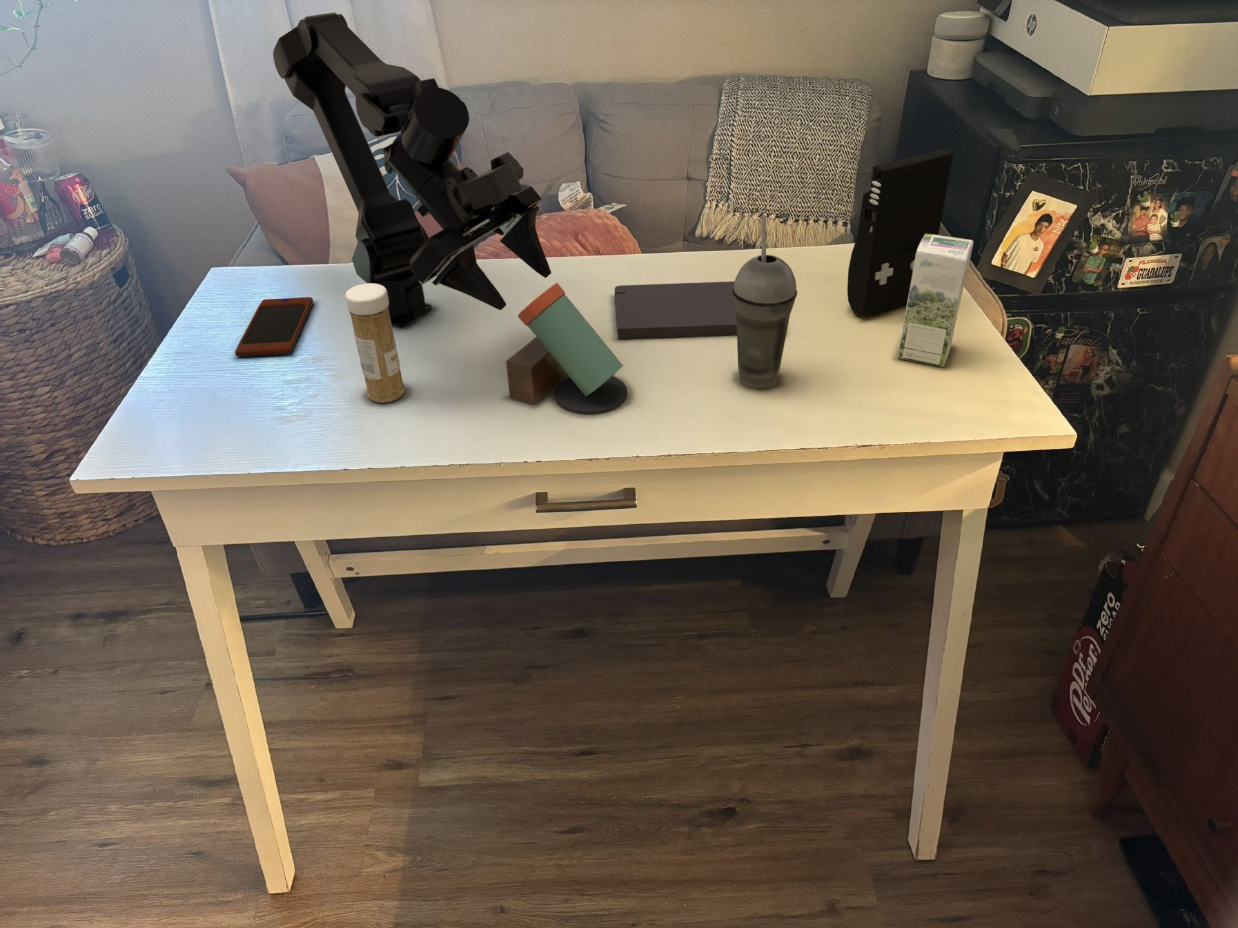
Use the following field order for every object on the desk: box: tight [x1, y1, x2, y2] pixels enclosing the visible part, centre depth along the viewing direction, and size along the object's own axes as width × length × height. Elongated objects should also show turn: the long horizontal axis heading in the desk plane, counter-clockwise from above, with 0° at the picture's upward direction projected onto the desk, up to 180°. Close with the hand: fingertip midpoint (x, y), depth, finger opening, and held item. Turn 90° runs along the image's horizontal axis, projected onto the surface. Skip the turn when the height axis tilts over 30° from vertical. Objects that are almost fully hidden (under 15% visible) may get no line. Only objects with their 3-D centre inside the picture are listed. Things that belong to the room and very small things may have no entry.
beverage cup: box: [732, 214, 798, 390], centre depth 106 cm, size 7×7×20 cm
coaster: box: [553, 375, 628, 415], centre depth 110 cm, size 9×9×1 cm
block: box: [505, 336, 569, 405], centre depth 111 cm, size 4×10×5 cm, turn 151°
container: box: [517, 282, 623, 396], centre depth 107 cm, size 12×6×12 cm, turn 61°
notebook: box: [614, 280, 737, 340], centre depth 125 cm, size 13×2×21 cm
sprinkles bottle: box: [344, 283, 406, 404], centre depth 107 cm, size 5×5×14 cm
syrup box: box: [897, 234, 974, 368], centre depth 111 cm, size 6×6×14 cm
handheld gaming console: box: [846, 148, 955, 318], centre depth 121 cm, size 12×5×20 cm, turn 120°
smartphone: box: [234, 296, 314, 357], centre depth 124 cm, size 7×1×15 cm
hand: (526, 291), depth 106 cm, fingers open, 9 cm apart
